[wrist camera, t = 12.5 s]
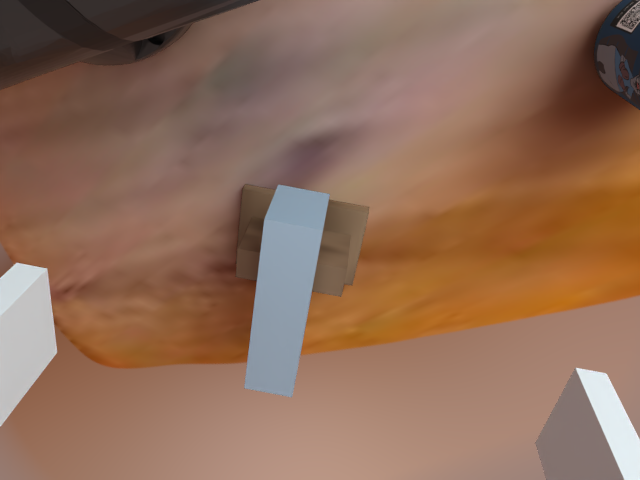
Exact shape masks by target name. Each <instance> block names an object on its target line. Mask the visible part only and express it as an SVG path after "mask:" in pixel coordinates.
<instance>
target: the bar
mask: <svg viewBox="0 0 640 480" xmlns="http://www.w3.org/2000/svg"><path fill="white" fill-rule="evenodd" d="M329 196H330V194H326V193H321V192H315V191H310V190H305V189H299V188H294V187H288V186H283V185H278V187H277V189H276V192H275V194H274V197H273V199H272V201H271V204H270V206H269V209H268V211H267V214H266V216H265V219H264V226H263V235H262V243H261V251H260V260H259V268H258V277H257V285H256V293H255V302H254V310H253V319H252V327H251V336H250V344H249V352H248V361H247V370H246V379H245V387H244V388H246V389H252V390H257V391H262V392H267V393H273V394H278V395H283V396H288V397H292V395H293V390H294V385H295V379H296V374H297V369H298V364H299V358H300V354H301V348H302V343H303V337H304V332H305V326H306V321H307V315H308V310H309V305H310V299H311V294H312V288H313V283H314V277H315V272H316V266H317V261H318V256H319V250H320V245H321V239H322V234H323V228H324V223H325V217H326V212H327V207H328V201H329Z"/></svg>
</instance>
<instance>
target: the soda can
mask: <svg viewBox="0 0 640 480" xmlns="http://www.w3.org/2000/svg"><path fill="white" fill-rule="evenodd" d="M594 61H595V66H596V70H597V73H598V75H599V77H600V78H601V80H602V81H603V83H604V84H605V85H606V86H607V87H608V88H609V89H611V90H612V91H613V92H615V93H616V94H618V95H619V96H621V97H622V98H623V99H625V100H626V101H628V102H629V103H630V104H632V105H633V106H635V107H636V108H638V109H639V110H640V0H623V1H621V2H620V3H619V4H618V5H617V6H616V7H615V8H614V9H613V10H612V11H611V13H610V14H609V15H608V17H607V18H606V19H605V21H604V23H603V24H602V26H601V28H600V30H599V33H598V36H597V39H596V43H595V49H594Z"/></svg>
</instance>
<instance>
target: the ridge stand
mask: <svg viewBox="0 0 640 480" xmlns="http://www.w3.org/2000/svg"><path fill="white" fill-rule="evenodd" d="M275 192H276V190H274V189H268V188H263V187H258V186H252V185H247V184H245V186H244V188H243V191H242V201H241V212H240V223H239V234H238V245H237V256H236V264H237V268H236V277H238V278H244V279H249V280H254V281H257V277H258V268H259V260H260V251H261V243H262V235H263V226H264V219H265V216H266V214H267V211H268V209H269V206H270V204H271V201H272V199H273V197H274V194H275ZM368 214H369V207H365V206H360V205H354V204H349V203H344V202H338V201H333V200H329V201H328V207H327V212H326V217H325V223H324V228H323V234H322V239H321V245H320V250H319V256H318V261H317V266H316V272H315V277H314V283H313V288H312V291H313V292H318V293H324V294H329V295H334V296H340V297H341V296H342V291H343V287H344V284H347V285H352V284H353V280H354V276H355V271H356V267H357V262H358V258H359V254H360V249H361V245H362V241H363V236H364V232H365V227H366V223H367V219H368Z"/></svg>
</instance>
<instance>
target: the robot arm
mask: <svg viewBox="0 0 640 480" xmlns="http://www.w3.org/2000/svg"><path fill="white" fill-rule="evenodd" d="M256 1H259V0H0V90H2V89H4V88H7V87H10V86H12V85H15V84H18V83H20V82H23V81H26V80H28V79H31V78H34V77H37V76H40V75H42V74H45V73H48V72H51V71H54V70H56V69H59V68H62V67H65V66H68V65H70V64H73V63H76V62H79V61H80V62H85V63H89V64H96V65H122V64H128V63H133V62H137V61H140V60H143V59H146V58H148V57H150V56H152V55H154V54H156V53H158V52H160V51H161V50H163V49H165V48H167V47H168V46H170V45H171V44H173V43H174V42H175V41H176V40H178V39H179V38H180V37H181V36H182V35H183V34H184V33H185V32H186V31H187V30H188V28H189V27H190V26H191V25H192V23H194V22H197V21H200V20H203V19H206V18H209V17H212V16H215V15H218V14H221V13H224V12H227V11H229V10H232V9H235V8H238V7H241V6H244V5H247V4H250V3H253V2H256ZM56 353H57V347H56V338H55V329H54V321H53V313H52V304H51V296H50V287H49V279H48V271H47V268H42V267H36V266H31V265H26V264H20V263H16V264H15V265H14V266H13V267H12V268H10V270H8V271H7V272H6V273H5V274H4V275H3V276H2V277H1V278H0V426H1V425H2V424H3V422H4V421H5V420H6V419H7V417H8V416H9V414H10V413H11V412H12V411H13V409H14V408H15V407H16V406H17V404H18V403H19V402H20V400H21V399H22V398H23V396H24V395H25V394H26V393H27V391H28V390H29V389H30V387H31V385H32V384H33V383H34V382H35V381H36V379H37V378H38V377H39V376H40V374H41V373H42V372H43V370H44V369H45V368H46V366H47V365H48V364H49V362H50V361H51V360H52V358H53V357H54V356H55V354H56ZM536 447H537V450H538V453H539V457H540V460H541V463H542V467H543V470H544V474H545V477H546V480H640V439H639V437H638V436H637V434H636V432H635V430H634V428H633V426H632V424H631V422H630V420H629V418H628V416H627V414H626V412H625V410H624V408H623V406H622V404H621V402H620V400H619V398H618V396H617V394H616V392H615V390H614V388H613V386H612V384H611V382H610V380H609V378H608V376H607V374H606V373H601V372H596V371H590V370H584V369H580V368H575V369H574V371H573V373H572V375H571V377H570V379H569V381H568V382H567V384H566V386H565V388H564V390H563V392H562V394H561V396H560V397H559V399H558V402H557V403H556V405H555V407H554V409H553V411H552V412H551V414H550V416H549V418H548V420H547V422H546V424H545V426H544V427H543V429H542V431H541V433H540V435H539V437H538V439H537V441H536Z"/></svg>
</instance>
